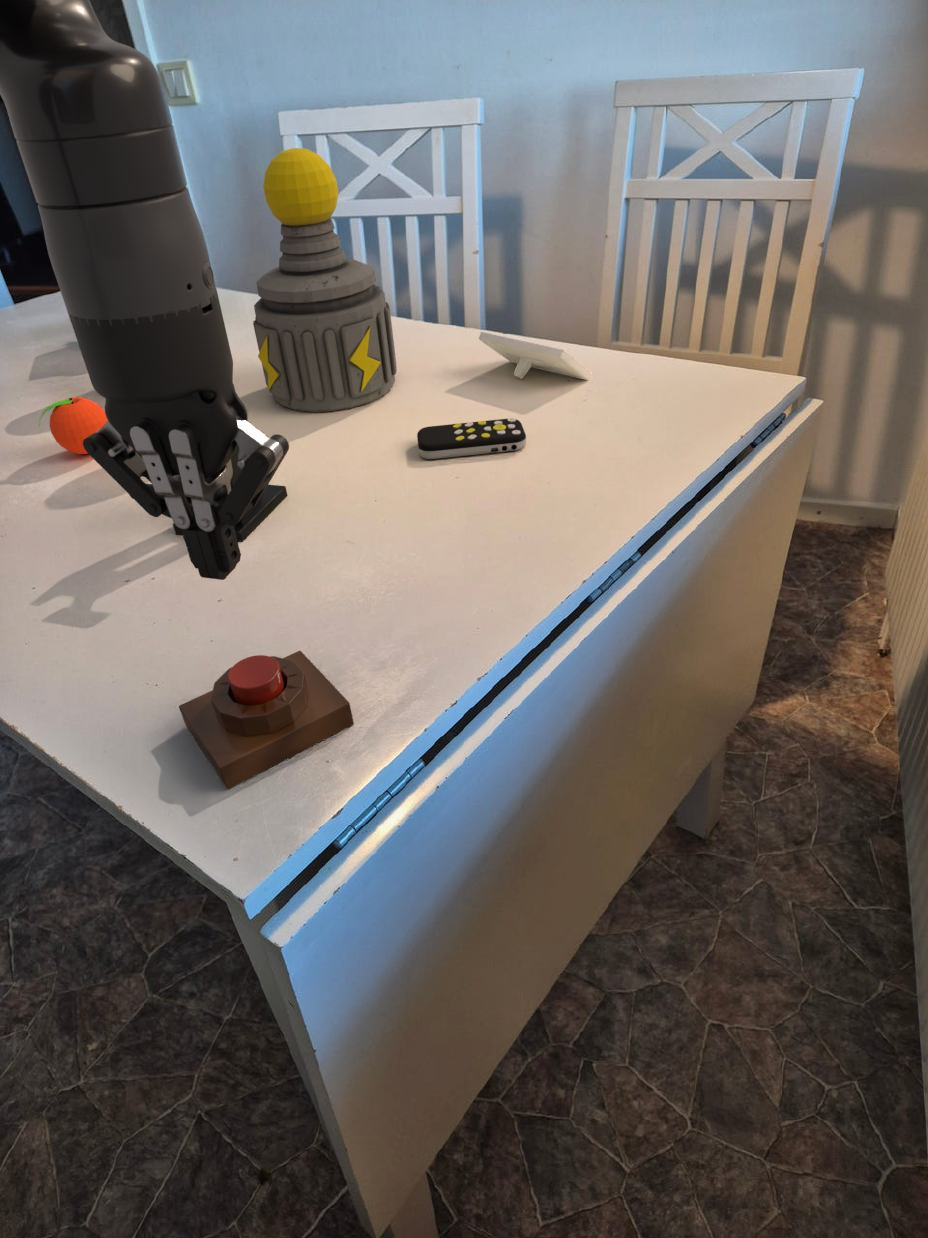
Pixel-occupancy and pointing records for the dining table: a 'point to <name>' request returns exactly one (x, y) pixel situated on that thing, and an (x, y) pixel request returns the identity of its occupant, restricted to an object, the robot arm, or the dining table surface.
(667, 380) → the dining table surface
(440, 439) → the remote control
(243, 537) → the bracket
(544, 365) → the white picture frame
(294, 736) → the button block
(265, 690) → the button
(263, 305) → the decorative lamp
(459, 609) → the dining table surface
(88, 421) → the clementine
